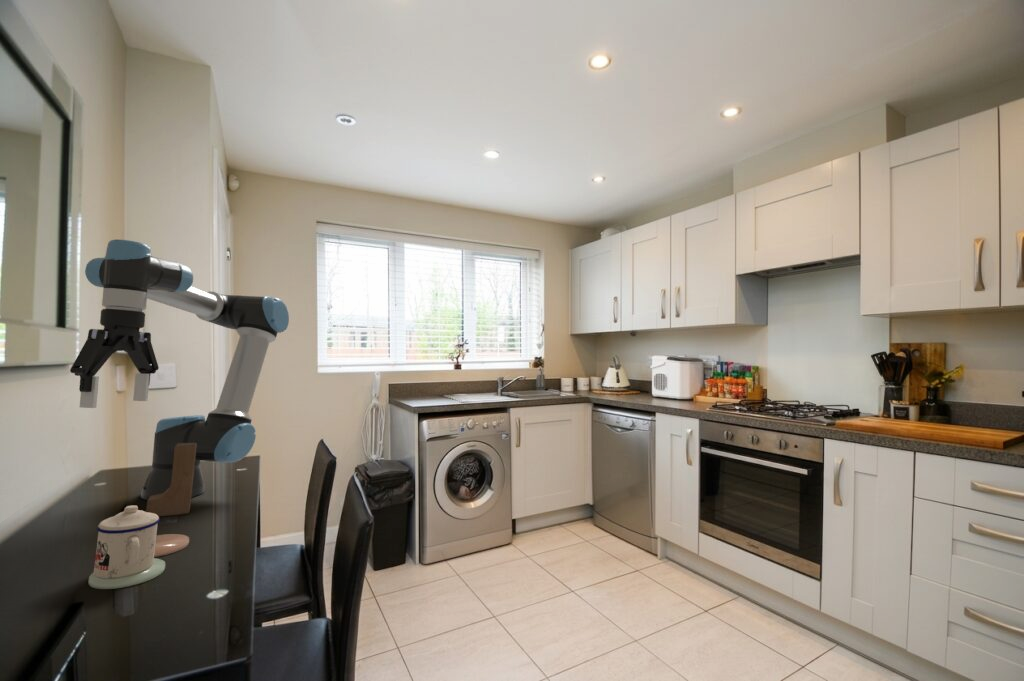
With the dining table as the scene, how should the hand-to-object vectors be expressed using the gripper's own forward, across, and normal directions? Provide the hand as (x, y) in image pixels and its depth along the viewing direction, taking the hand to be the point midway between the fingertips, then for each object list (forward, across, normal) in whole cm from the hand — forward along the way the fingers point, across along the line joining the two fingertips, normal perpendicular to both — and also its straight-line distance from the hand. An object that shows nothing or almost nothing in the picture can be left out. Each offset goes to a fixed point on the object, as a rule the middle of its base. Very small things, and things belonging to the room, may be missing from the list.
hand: (115, 404), depth 99 cm
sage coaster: (+30, +15, +17) cm, 37 cm away
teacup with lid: (+29, +15, +17) cm, 37 cm away
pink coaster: (+30, +2, +13) cm, 33 cm away
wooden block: (+31, -19, +1) cm, 36 cm away
